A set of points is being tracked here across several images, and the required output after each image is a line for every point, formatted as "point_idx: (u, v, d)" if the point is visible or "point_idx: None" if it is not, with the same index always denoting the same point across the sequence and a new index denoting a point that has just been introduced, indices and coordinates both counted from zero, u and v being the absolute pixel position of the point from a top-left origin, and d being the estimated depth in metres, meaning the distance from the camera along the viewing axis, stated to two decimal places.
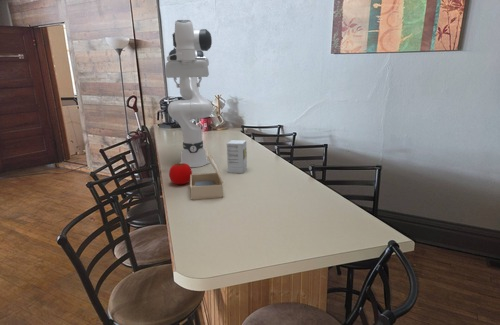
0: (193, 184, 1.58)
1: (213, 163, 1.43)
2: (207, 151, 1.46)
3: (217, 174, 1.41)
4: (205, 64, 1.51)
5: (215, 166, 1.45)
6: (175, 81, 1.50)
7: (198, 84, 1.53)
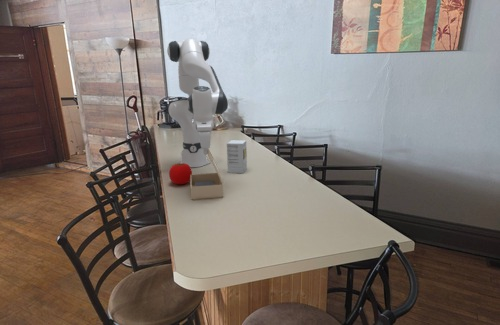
0: (193, 184, 1.58)
1: (214, 163, 1.43)
2: (208, 151, 1.46)
3: (218, 174, 1.41)
4: None
5: (216, 166, 1.45)
6: (207, 148, 1.44)
7: None
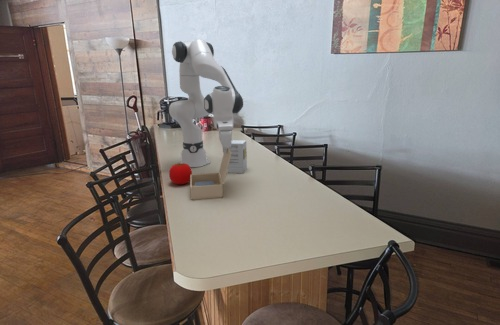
0: (193, 184, 1.58)
1: None
2: (229, 149, 1.48)
3: (225, 173, 1.41)
4: None
5: None
6: (227, 147, 1.45)
7: None
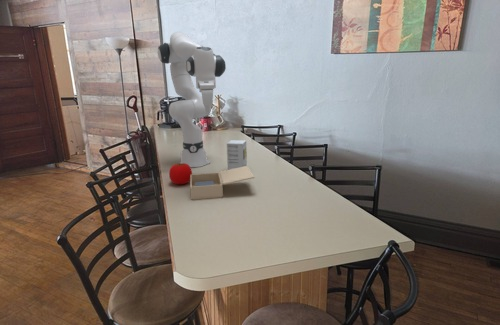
0: (193, 184, 1.58)
1: None
2: (250, 172, 1.53)
3: (234, 181, 1.43)
4: None
5: None
6: (209, 108, 1.47)
7: None
